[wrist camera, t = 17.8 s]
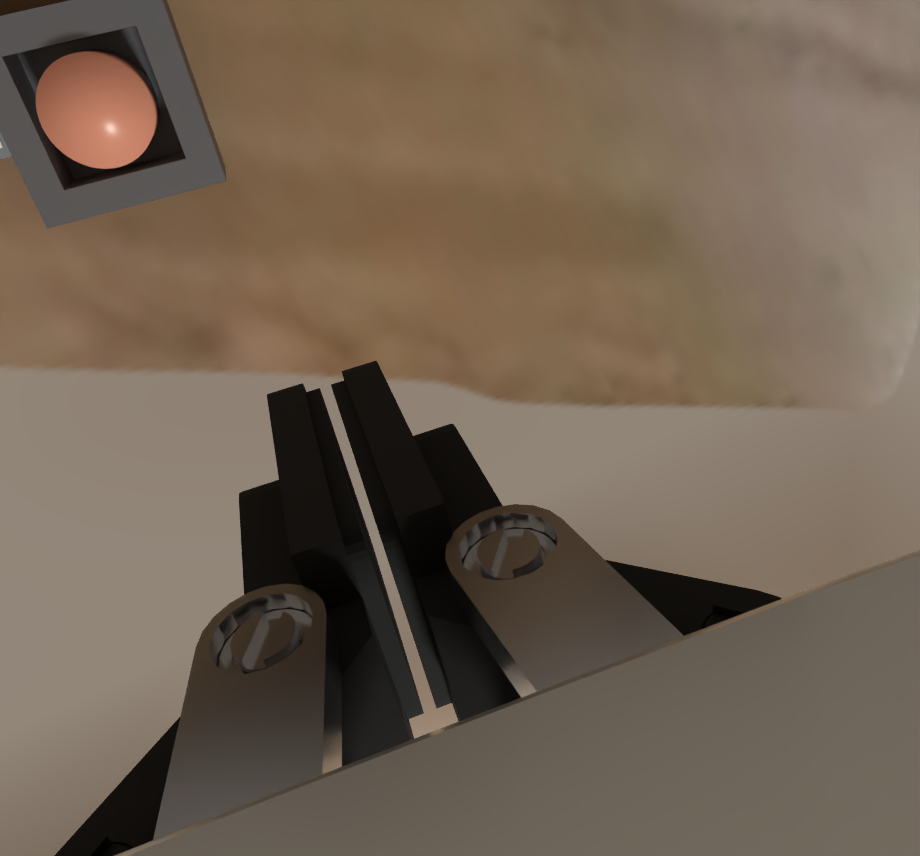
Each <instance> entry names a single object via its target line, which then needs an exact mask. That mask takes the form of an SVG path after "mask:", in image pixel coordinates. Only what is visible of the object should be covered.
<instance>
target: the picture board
mask: <svg viewBox="0 0 920 856" xmlns="http://www.w3.org/2000/svg"><path fill="white" fill-rule="evenodd" d="M11 156H12V155H11V153H10V151H9V149H8V147H7V145H6V143H5V141H4V139H3V137H2V135H1V133H0V159H3V158H7V157H11Z"/></svg>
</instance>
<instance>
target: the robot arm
mask: <svg viewBox="0 0 920 856" xmlns="http://www.w3.org/2000/svg"><path fill="white" fill-rule="evenodd" d="M342 374H343V378H344V381H341V382H338V383H335V384H332V385H331V386H332V389H333V392H334V395H335V399H336V401H337V405H338V408H339V411H340V414H341V417H342V420H343V423H344V426H345V429H346V433H347V436H348V439H349V442H350V445H351V448H352V451H353V454H354V457H355V460H356V463H357V466H358V469H359V472H360V475H361V479H362V482H363V485H364V488H365V491H366V494H367V497H368V500H369V503H370V506H371V509H372V512H373V516H374V519H375V522H376V524H377V528H378V531H379V534H380V537H381V540H382V543H383V546H384V549H385V552H386V555H387V558H388V561H389V564H390V567H391V571H392V574H393V577H394V580H395V583H396V586H397V589H398V592H399V595H400V598H401V601H402V604H403V607H404V610H405V613H406V616H407V619H408V622H409V625H410V628H411V632H412V635H413V638H414V641H415V644H416V647H417V649H418V653H419V656H420V659H421V662H422V665H423V668H424V671H425V674H426V677H427V680H428V683H429V686H430V690H431V693H432V695H433V699H434V702H435V705H436V708H439V707H442V706H444V705H447V704H449V703H452V704H453V707H454V709H455V712H456V715H457V718H458V721H459V722H457V723H454V724H452V725H449V726H446V727H444V728H441V729H439V730H436V731H433V732H431V733H428V734H426V735H423V736H420V737H418V738H415V739H414V737H413V734H412V730H411V726H410V723H409V719H410V718H412V717H415V716H418V715H420V714H423V709H422V706H421V703H420V700H419V696H418V693H417V690H416V686H415V683H414V680H413V676H412V673H411V670H410V666H409V663H408V660H407V656H406V653H405V650H404V647H403V643H402V640H401V637H400V634H399V630H398V627H397V624H396V621H395V617H394V614H393V611H392V607H391V604H390V601H389V598H388V594H387V591H386V588H385V585H384V581H383V578H382V575H381V571H380V568H379V565H378V562H377V558H376V555H375V552H374V548H373V545H372V543H371V539H370V536H369V533H368V530H367V527H366V524H365V521H364V518H363V515H362V512H361V509H360V506H359V503H358V500H357V497H356V495H355V492H354V488H353V485H352V482H351V479H350V476H349V474H348V471H347V467H346V465H345V462H344V459H343V456H342V453H341V450H340V447H339V444H338V441H337V438H336V435H335V432H334V429H333V426H332V423H331V420H330V417H329V414H328V411H327V408H326V405H325V402H324V399H323V396H322V394H321V391H320V388H319V389H316V390H312V391H309V392H306V390H305V387H304V385H303V384H299V385H296V386H293V387H289V388H286V389H283V390H279V391H277V392H273V393H270V394H267V399H268V406H269V413H270V420H271V427H272V433H273V441H274V447H275V454H276V461H277V467H278V475H279V480H277V481H274V482H271V483H267V484H264V485H261V486H258V487H255V488H252V489H249V490H246V491H243V492H241V493H239V509H240V527H241V545H242V560H243V561H242V562H243V580H244V595H243V596H242V597H240V598H238V599H236V600H234V601H233V602H231V603H230V604H228V605H227V606H226V607H225V608H223V609H222V610H221V611H220V612H219V613H218V614H216V615H215V616H214V617H213V618H212V620H211V621H210V622H209V624H208V625H207V626H206V628H205V629H204V630H203V631H202V634H201V636H200V639H199V641H198V643H197V646H196V649H195V653H194V658H193V662H192V667H191V671H190V676H189V680H188V685H187V689H186V694H185V698H184V703H183V707H182V712H181V716H180V717H179V719H178V720H177V721H176V722H175V723H174V724H173V725H172V727H170V728H169V730H168V731H167V732H166V733H165V734H164V735H163V736H162V737H161V738H160V740H159V741H158V742H157V743H156V744H155V745H154V746H153V747H152V748H151V750H150V751H149V752H148V753H147V754H146V755H145V756H144V757H143V759H141V761H140V762H139V763H138V764H137V765H136V766H135V767H134V768H133V770H132V771H131V772H130V773H129V774H128V775H127V776H126V777H125V778H124V779H123V780H122V782H121V783H120V784H119V785H118V786H117V787H116V789H114V791H113V792H112V793H111V794H110V795H109V796H108V797H107V798H106V799H105V800H104V802H103V803H102V804H101V805H100V806H99V807H98V808H97V809H96V811H94V813H93V814H92V815H91V816H90V817H89V818H88V819H87V820H86V821H85V823H84V824H83V825H82V826H81V827H80V828H79V829H78V830H77V831H76V832H75V834H74V835H73V836H72V837H71V838H70V839H69V840H68V841H67V843H66V844H65V845H64V846H63V847H62V848H61V849H60V850H59V851H58V852H57V853H56V855H55V856H920V550H918V551H915V552H912V553H909V554H906V555H903V556H900V557H897V558H894V559H891V560H888V561H885V562H882V563H879V564H876V565H873V566H871V567H867V568H864V569H861V570H858V571H855V572H852V573H850V574H847V575H844V576H842V577H839V578H837V579H834V580H831V581H829V582H826V583H824V584H821V585H818V586H815V587H813V588H810V589H808V590H805V591H802V592H799V593H797V594H794V595H791V596H789V597H786V598H783V599H782V598H780V597H777V596H774V595H771V594H768V593H764V592H761V591H758V590H753V589H748V588H742V587H738V586H732V585H727V584H723V583H718V582H713V581H707V580H703V579H698V578H693V577H688V576H683V575H678V574H673V573H668V572H663V571H657V570H653V569H648V568H643V567H638V566H633V565H628V564H622V563H618V562H613V561H608V560H604V559H603V558H602V557H601V556H600V555H599V554H598V553H597V552H596V551H595V550H594V549H593V548H592V547H591V546H590V545H589V544H588V543H587V542H586V541H585V540H584V539H582V538H581V537H580V536H579V535H578V534H577V533H576V532H575V531H574V530H573V529H572V528H571V527H570V526H569V525H568V524H567V523H566V522H565V521H564V520H563V519H561V518H560V517H558V516H557V515H556V514H554V513H553V512H551V511H550V510H546V509H543V508H540V507H537V506H533V505H518V504H514V505H507V506H502V504H501V502H500V501H499V499H498V497H497V496H496V494H495V493H494V491H493V489H492V487H491V486H490V484H489V483H488V481H487V479H486V477H485V476H484V474H483V473H482V471H481V469H480V467H479V466H478V464H477V462H476V461H475V459H474V457H473V456H472V454H471V452H470V451H469V449H468V447H467V446H466V444H465V442H464V441H463V439H462V437H461V435H460V434H459V432H458V430H457V429H456V427H455V426H454V425H453V424H449V425H446V426H443V427H439V428H436V429H433V430H430V431H427V432H424V433H421V434H418V435H415V436H412V433H411V431H410V429H409V427H408V425H407V423H406V421H405V419H404V417H403V415H402V413H401V410H400V409H399V406H398V404H397V402H396V400H395V398H394V396H393V394H392V392H391V390H390V388H389V386H388V383H387V381H386V379H385V377H384V375H383V373H382V371H381V369H380V367H379V365H378V363H377V361H373V362H370V363H367V364H364V365H361V366H357V367H354V368H351V369H348V370H344V371H342Z"/></svg>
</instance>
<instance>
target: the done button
mask: <svg viewBox="0 0 920 856" xmlns="http://www.w3.org/2000/svg"><path fill="white" fill-rule="evenodd" d="M36 110H37V114H38V118H39V121H40V123H41V126H42V128H43V130H44V132H45V133H46V135H47V136H48V138H49V139H50V141H51V142H52V143H53V144H54V145H55V146H56V147H57V148H58V149H59V150H60V151H61V152H62V153H64V154H65V155H66V156H68V157H69V158H71V159H73V160H74V161H76V162H78V163H81V164H83V165H86V166H89V167H94V168H101V169H110V168H117V167H121V166H124V165H127V164H129V163H131V162H133V161H134V160H136V159H137V158H138V157H139V156H140V155H141V154H142V153H143V152H144V151H145V150H146V148H147V147H148V145H149V143H150V141H151V139H152V137H153V135H154V134H155V131H156V129H157V126H158V121H159V104H158V99H157V96H156V93H155V90H154V88H153V86H152V84H151V82H150V81H149V79H148V78H147V77H146V75H145V74H144V73H143V72H142V71H141V70H140V68H139V67H137V66H136V65H135V64H134V63H133V62H131V61H130V60H128V59H127V58H125V57H123V56H121V55H119V54H116V53H113V52H110V51H106V50H86V51H81V52H77V53H72V54H69V55H66V56H63V57H61V58H59V59H57V60H56V61H55V62H53V63H52V64H51V65H50V66H49V67H48V68H47V69H46V70H45V72H44V73H43V74H42V76H41V78H40V80H39V83H38V86H37V91H36Z"/></svg>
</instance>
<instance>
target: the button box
mask: <svg viewBox="0 0 920 856" xmlns="http://www.w3.org/2000/svg"><path fill="white" fill-rule="evenodd" d="M86 50H106V51H110V52H113V53H116V54H119V55H121V56H123V57H125V58H127V59H128V60H130V61H131V62H133V63H134V64H135V65H136V66H137V67H139V68H140V70H141V71H142V72H143V73H144V74H145V75H146V77H147V78H148V79H149V81H150V82H151V84H152V86H153V88H154V90H155V93H156V96H157V99H158V104H159V121H158V126H157V129H156V131H155V134H154V135H153V137H152V139H151V141H150V143H149V145H148V147H147V148H146V150H145V151H144V152H143V153H142V154H141V155H140V156H139V157H138V158H137V159H136V160H134V161H133V162H131V163H129V164H127V165H124V166H121V167H117V168H110V169H101V168H94V167H89V166H86V165H83V164H81V163H78V162H76V161H74V160H73V159H71V158H69V157H68V156H66V155H65V154H64V153H62V152H61V151H60V150H59V149H58V148H57V147H56V146H55V145H54V144H53V143H52V142H51V141H50V139H49V138H48V136H47V135H46V133H45V132H44V130H43V128H42V126H41V123H40V121H39V118H38V114H37V110H36V91H37V86H38V83H39V80H40V78H41V76H42V74H43V73H44V72H45V70H46V69H47V68H48V67H49V66H50V65H51V64H52V63H53V62H55V61H56V60H57V59H59V58H61V57H63V56H66V55H69V54H72V53H77V52H81V51H86ZM0 133H1V135H2V137H3V139H4V141H5V143H6V145H7V147H8V149H9V151H10V153H11V155H12V157H13V159H14V161H15V163H16V165H17V167H18V169H19V171H20V173H21V176H22V178H23V180H24V182H25V184H26V186H27V188H28V190H29V192H30V194H31V196H32V198H33V200H34V202H35V204H36V206H37V208H38V210H39V212H40V214H41V216H42V218H43V220H44V223H45V225H46V227H47V228H51V227H55V226H59V225H62V224H66V223H70V222H74V221H77V220H81V219H85V218H89V217H92V216H96V215H100V214H104V213H107V212H111V211H115V210H119V209H123V208H126V207H130V206H134V205H138V204H141V203H145V202H149V201H153V200H156V199H160V198H164V197H168V196H171V195H175V194H179V193H183V192H187V191H190V190H194V189H198V188H202V187H205V186H209V185H213V184H217V183H220V182H224V181H226V171H225V165H224V162H223V159H222V157H221V154H220V151H219V148H218V145H217V142H216V140H215V137H214V134H213V131H212V128H211V125H210V122H209V120H208V117H207V114H206V111H205V108H204V105H203V102H202V100H201V97H200V94H199V91H198V88H197V85H196V82H195V80H194V77H193V74H192V71H191V68H190V65H189V62H188V60H187V57H186V54H185V51H184V48H183V45H182V43H181V40H180V37H179V34H178V31H177V28H176V25H175V23H174V20H173V17H172V14H171V11H170V8H169V5H168V3H167V0H69V1H64V2H60V3H55V4H51V5H46V6H42V7H37V8H33V9H29V10H24V11H20V12H15V13H11V14H6V15H2V16H0Z"/></svg>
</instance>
